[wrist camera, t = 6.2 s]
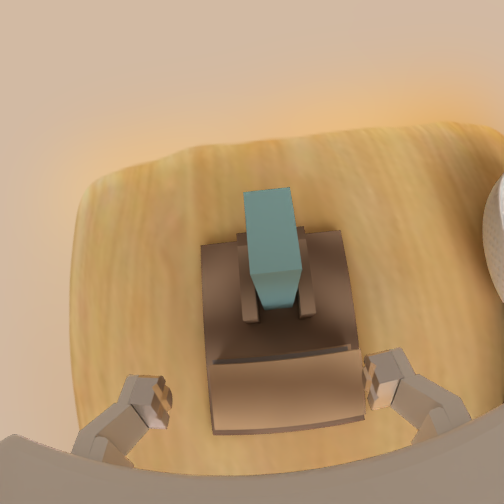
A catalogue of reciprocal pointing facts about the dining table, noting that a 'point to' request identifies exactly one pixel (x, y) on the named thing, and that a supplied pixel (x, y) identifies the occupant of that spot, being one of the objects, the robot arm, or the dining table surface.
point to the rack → (277, 320)
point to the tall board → (273, 246)
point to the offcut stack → (287, 388)
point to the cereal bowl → (495, 235)
